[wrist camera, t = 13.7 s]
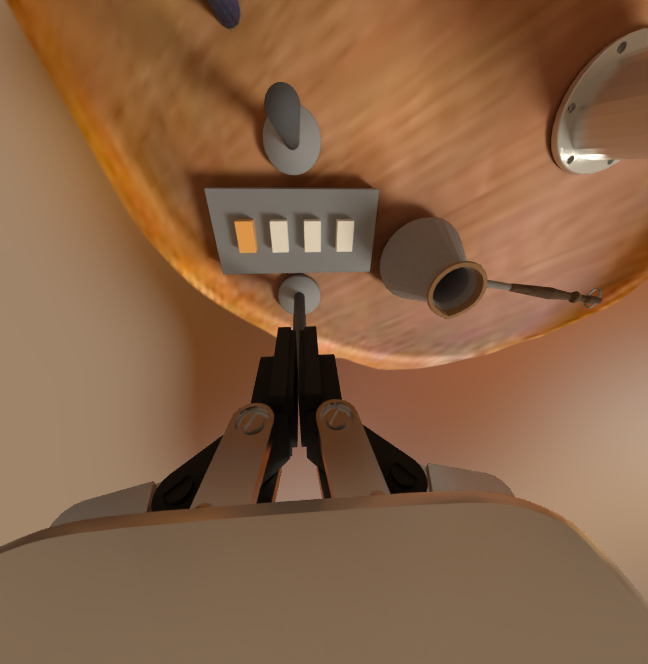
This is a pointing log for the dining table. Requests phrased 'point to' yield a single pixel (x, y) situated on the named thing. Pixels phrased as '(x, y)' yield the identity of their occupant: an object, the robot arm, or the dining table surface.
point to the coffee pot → (447, 271)
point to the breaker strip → (293, 228)
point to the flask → (226, 12)
